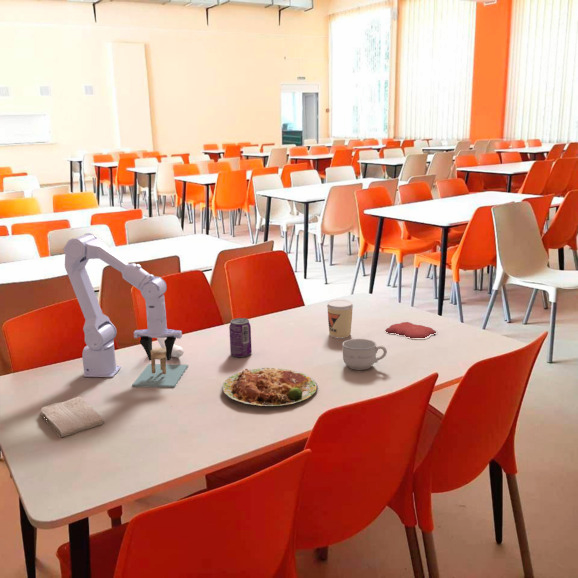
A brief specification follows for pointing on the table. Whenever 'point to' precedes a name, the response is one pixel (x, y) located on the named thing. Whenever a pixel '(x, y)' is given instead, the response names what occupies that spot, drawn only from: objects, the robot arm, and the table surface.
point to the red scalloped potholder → (410, 330)
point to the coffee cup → (340, 318)
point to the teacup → (361, 353)
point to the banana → (176, 350)
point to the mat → (160, 376)
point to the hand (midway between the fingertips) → (159, 359)
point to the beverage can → (240, 337)
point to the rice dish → (269, 386)
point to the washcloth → (71, 416)
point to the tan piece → (159, 354)
